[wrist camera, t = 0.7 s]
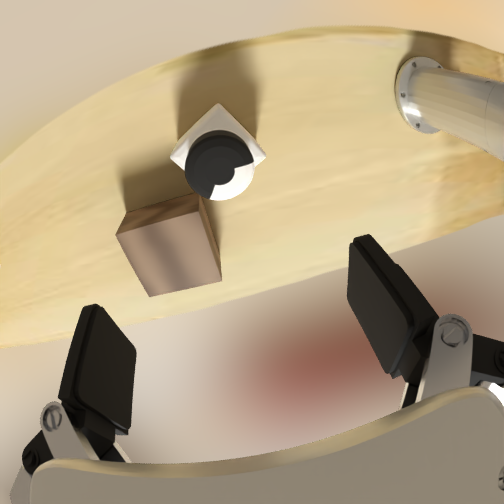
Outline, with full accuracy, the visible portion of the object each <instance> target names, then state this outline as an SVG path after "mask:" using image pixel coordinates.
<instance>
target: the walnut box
mask: <svg viewBox="0 0 504 504" xmlns="http://www.w3.org/2000/svg"><path fill="white" fill-rule="evenodd" d="M116 237H117V239H118V241H119V243H120V245H121V247H122V249H123V251H124V253H125V255H126V257H127V258H128V260H129V262H130V264H131V266H132V268H133V269H134V271H135V273H136V275H137V277H138V278H139V280H140V282H141V284H142V285H143V287H144V289H145V290H146V292H147V294H148V296H149V297H152V296H157V295H161V294H166V293H171V292H175V291H180V290H184V289H189V288H193V287H198V286H202V285H207V284H211V283H216V282H220V281H222V274H221V262H220V254H219V251H218V248H217V245H216V242H215V239H214V236H213V233H212V229H211V226H210V223H209V220H208V217H207V213H206V210H205V207H204V204H203V200H202V197H201V196H200V195H199V194H197V193H193V194H189V195H186V196H182V197H178V198H175V199H171V200H168V201H164V202H161V203H158V204H154V205H151V206H148V207H144V208H141V209H138V210H135V211H132V212H128V213H126V215H125V217H124V219H123V221H122V223H121V225H120V227H119V229H118V231H117V233H116Z"/></svg>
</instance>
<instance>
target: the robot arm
mask: <svg viewBox="0 0 504 504" xmlns="http://www.w3.org/2000/svg"><path fill="white" fill-rule="evenodd" d="M395 93H396V101H397V105H398V108H399V111H400V113H401V115H402V117H403V118H404V120H405V121H406V122H407V123H408V124H409V125H410V126H411V127H412V128H413V129H415V130H417V131H419V132H422V133H426V134H433V133H436V132H438V131H440V130H442V131H444V132H446V133H448V134H451V135H453V136H455V137H457V138H460V139H462V140H464V141H466V142H468V143H470V144H472V145H474V146H476V147H478V148H480V149H482V150H484V151H486V152H487V153H489V154H491V155H493V156H495V157H496V158H498V159H500V160H502V161H504V82H500V81H497V80H493V79H490V78H486V77H482V76H478V75H473V74H469V73H464V72H459V71H454V70H448V69H444V68H443V67H442V66H441V65H440V64H439V63H438V62H437V61H435V60H433V59H431V58H428V57H413V58H411V59H409V60H408V61H406V62H405V63H404V64H403V66H402V67H401V68H400V70H399V72H398V75H397V79H396V86H395ZM347 299H348V302H349V304H350V306H351V308H352V310H353V312H354V314H355V315H356V317H357V319H358V321H359V323H360V325H361V327H362V329H363V330H364V332H365V334H366V336H367V338H368V340H369V342H370V344H371V346H372V348H373V350H374V352H375V353H376V356H377V357H378V360H379V362H380V363H381V366H382V368H383V370H384V371H385V373H387V374H388V373H390V375H391V377H392V379H394V378H396V377H398V376H400V375H402V376H403V378H404V380H405V382H406V385H405V390H404V393H403V396H402V400H401V403H400V406H399V409H398V411H396V412H394V413H392V414H390V415H388V416H385V417H383V418H380V419H378V420H375V421H373V422H371V423H368V424H365V425H363V426H360V427H357V428H355V429H352V430H349V431H347V432H344V433H341V434H338V435H335V436H332V437H329V438H325V439H322V440H319V441H316V442H312V443H308V444H305V445H301V446H298V447H293V448H289V449H285V450H280V451H276V452H271V453H266V454H261V455H256V456H249V457H243V458H236V459H229V460H221V461H211V462H198V463H179V464H140V463H132V462H131V460H130V459H129V458H128V456H127V455H126V454H125V452H124V451H123V449H122V448H121V447H120V445H119V444H118V443H117V441H116V440H115V434H117V435H128V429H129V428H130V427H131V415H132V399H133V398H132V397H133V385H134V374H135V364H136V349H135V347H134V345H133V344H132V343H131V342H130V341H129V340H128V338H127V337H126V336H125V335H124V334H123V332H122V331H121V330H120V329H119V327H118V326H117V325H116V324H115V322H114V321H113V320H112V318H111V317H110V316H109V315H108V313H107V312H106V311H105V309H104V308H103V307H100V306H99V305H98V304H92V305H88V306H84V307H83V309H82V311H81V314H80V317H79V320H78V323H77V326H76V329H75V332H74V336H73V339H72V342H71V346H70V349H69V353H68V357H67V360H66V364H65V369H64V373H63V377H62V381H61V385H60V390H59V395H58V398H59V399H60V400H61V401H62V403H61V404H60V403H58V402H55V401H54V402H50V403H49V404H47V405H46V406H45V407H44V409H43V411H42V413H41V417H40V424H41V428H42V430H41V431H40V432H39V433H38V434H37V435H36V436H35V437H34V438H33V439H32V440H31V442H30V443H29V444H28V445H27V446H26V447H25V449H24V451H23V454H22V461H23V465H24V467H23V466H21V469H20V471H19V473H18V475H17V478H16V480H15V482H14V484H13V487H12V489H11V493H10V499H11V502H12V504H504V342H501V341H498V340H494V339H491V338H487V337H484V336H480V335H476V334H473V333H472V329H471V327H470V325H469V323H468V322H467V321H466V320H465V319H464V318H463V317H461V316H459V315H456V314H447V315H443V316H442V317H440V318H439V316H438V315H437V314H436V312H435V311H434V309H433V308H432V307H431V305H430V304H429V303H428V301H427V300H426V298H425V297H424V296H423V294H422V293H421V292H420V291H419V289H418V288H417V287H416V285H415V284H414V283H413V282H412V280H411V279H410V278H409V277H408V275H407V274H406V273H405V272H404V270H403V269H402V268H401V267H400V266H399V265H398V264H395V263H394V262H393V260H392V259H391V258H390V257H389V256H388V254H387V253H386V252H385V251H384V250H383V249H382V247H381V246H380V245H379V244H378V243H377V242H376V240H375V239H374V238H373V237H372V236H371V235H370V234H367V235H363V236H359V237H356V238H354V240H353V243H350V246H349V269H348V287H347Z"/></svg>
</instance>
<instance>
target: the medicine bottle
mask: <svg viewBox="0 0 504 504" xmlns="http://www.w3.org/2000/svg"><path fill="white" fill-rule="evenodd" d="M265 157H266V154H265V152H264V151H263V149H262V148H261V147H260V145H259V144H258V142H257V141H256V140H255V139H254V138H253V137H252V136H251V135H250V134H249V132H248V131H247V130H246V129H245V128H244V127H243V126H242V125H241V124H240V123H239V122H238V121H237V120H236V119H235V118H234V117H233V116H232V115H231V114H230V113H229V112H228V111H227V110H226V109H225V108H224V107H223V106H222V105H221V104H219V103H217V104H215V105H214V106H213V107H212V108H211V109H210V110H209V111H208V112H207V113H206V114H204V115H203V116H202V117H201V118H200V119H199V120H198V121H197V122H196V123H195V124H194V125H193V126H192V127H191V128H190V129H189V130H188V131H187V132H186V133H185V134H184V135H183V136H182V137H181V138H180V139H179V140H178V141H177V143H176V145H175V147H174V149H173V151H172V153H171V155H170V158H171V159H172V160H173V161H174V162H175V163H176V164H177V165H179V166H180V167H181V168H182V169H183V170H184V171H185V176H186V179H187V182H188V184H189V185H190V187H191V188H192V189H193V190H194V191H195V192H196V193H197V194H199V195H200V196H202V197H205V198H207V199H211V200H226V199H230V198H233V197H235V196H237V195H238V194H240V193H241V192H243V191H244V190H245V189H246V188H247V186H248V185H249V184H250V182H251V180H252V178H253V175H254V168H255V166H256V165H258V164H259V163H260V162H261V161H262V160H263V159H265Z"/></svg>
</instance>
